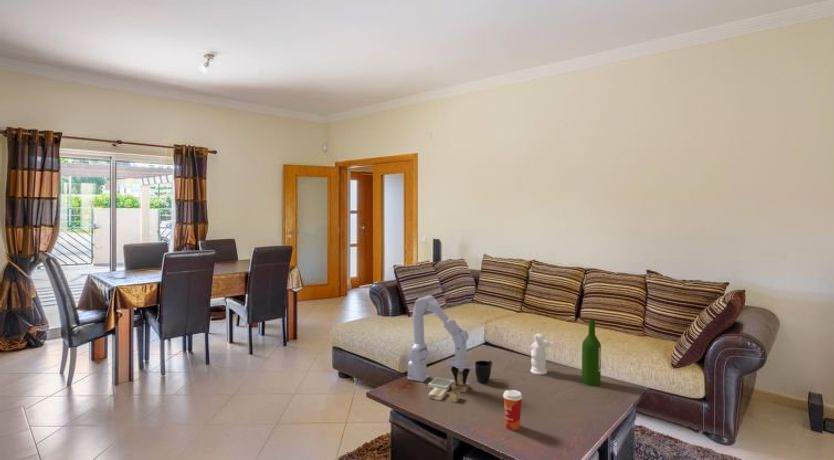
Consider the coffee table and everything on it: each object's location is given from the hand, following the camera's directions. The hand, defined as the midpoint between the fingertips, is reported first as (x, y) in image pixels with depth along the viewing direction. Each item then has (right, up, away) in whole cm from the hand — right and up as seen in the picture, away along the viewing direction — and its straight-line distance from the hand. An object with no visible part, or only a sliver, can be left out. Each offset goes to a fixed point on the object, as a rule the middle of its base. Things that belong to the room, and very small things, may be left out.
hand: (460, 382), depth 212 cm
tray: (-9, -3, +4) cm, 10 cm away
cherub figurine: (+46, -2, +20) cm, 50 cm away
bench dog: (-4, -4, -12) cm, 13 cm away
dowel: (0, -3, 0) cm, 3 cm away
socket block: (0, -3, 0) cm, 3 cm away
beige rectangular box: (-12, -4, -9) cm, 15 cm away
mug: (+14, -3, +10) cm, 17 cm away
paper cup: (+17, -5, -38) cm, 42 cm away
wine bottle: (+67, -3, +7) cm, 68 cm away
